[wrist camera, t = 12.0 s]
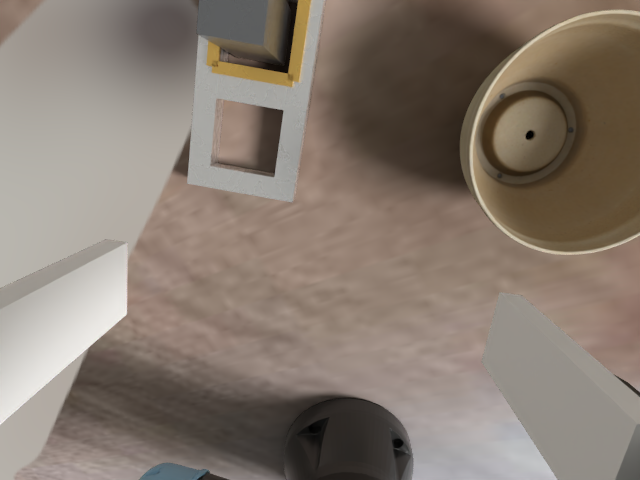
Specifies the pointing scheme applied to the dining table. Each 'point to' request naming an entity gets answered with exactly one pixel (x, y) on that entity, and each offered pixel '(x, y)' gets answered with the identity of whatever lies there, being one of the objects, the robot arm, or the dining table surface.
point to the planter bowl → (561, 137)
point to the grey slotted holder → (262, 90)
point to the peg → (247, 28)
